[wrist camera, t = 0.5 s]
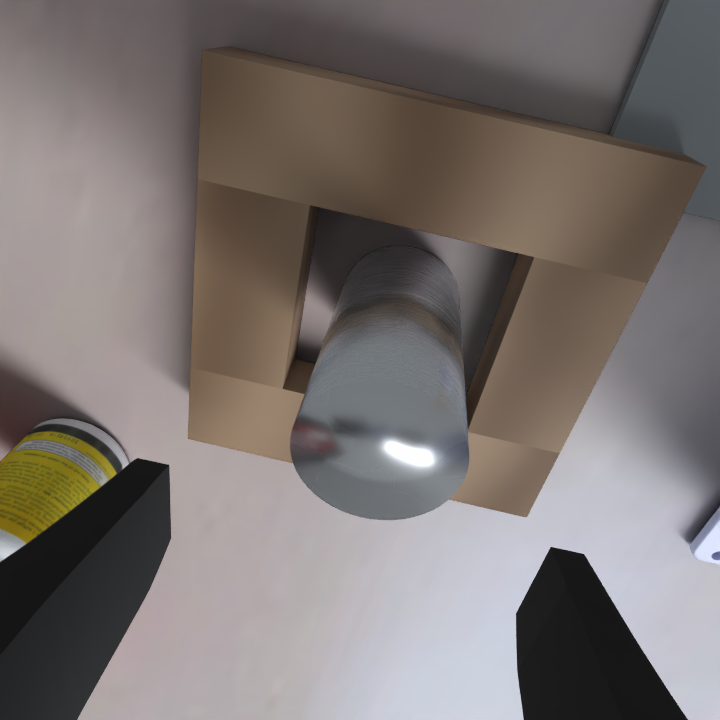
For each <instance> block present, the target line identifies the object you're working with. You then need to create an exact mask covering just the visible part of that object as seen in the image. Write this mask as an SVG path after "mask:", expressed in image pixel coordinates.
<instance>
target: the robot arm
mask: <svg viewBox="0 0 720 720" xmlns="http://www.w3.org/2000/svg"><path fill="white" fill-rule="evenodd" d="M170 540H171V519H170V478H169V465H167V464H162V463H157V462H153V461H148V460H143V459H139V458H137V459H136V460H134V461H132V462H131V463H130V464H128V465H127V466H126V467H125V468H123V469H122V470H121V471H120V472H118V473H117V474H116V475H115V476H113V477H112V478H111V479H110V480H109V481H107V482H106V483H105V484H104V485H102V486H101V487H100V488H99V489H97V490H96V491H95V492H94V493H92V494H91V495H90V496H89V497H87V498H86V499H85V500H83V501H82V502H81V503H80V504H78V505H77V506H76V507H75V508H73V509H72V510H71V511H69V512H68V513H67V514H65V515H64V516H63V517H61V518H60V519H59V520H57V521H56V522H55V523H53V524H52V525H51V526H49V527H48V528H47V529H45V530H44V531H43V532H41V533H40V534H39V535H37V536H36V537H35V538H33V539H32V540H31V541H29V542H28V543H27V544H25V545H24V546H22V547H21V548H20V549H18V550H17V551H15V552H14V553H12V554H11V555H9V556H8V557H7V558H5V559H4V560H2V561H1V562H0V720H77V719H78V717H79V715H80V713H81V711H82V709H83V708H84V706H85V704H86V702H87V700H88V699H89V697H90V695H91V693H92V692H93V690H94V688H95V686H96V684H97V683H98V681H99V679H100V677H101V676H102V674H103V672H104V670H105V668H106V667H107V665H108V663H109V661H110V660H111V658H112V656H113V654H114V652H115V651H116V649H117V647H118V645H119V644H120V642H121V640H122V638H123V637H124V635H125V633H126V631H127V629H128V628H129V626H130V624H131V622H132V620H133V619H134V617H135V615H136V613H137V611H138V610H139V608H140V606H141V604H142V602H143V601H144V599H145V597H146V595H147V593H148V591H149V589H150V587H151V585H152V583H153V580H154V578H155V576H156V573H157V571H158V569H159V566H160V564H161V562H162V559H163V557H164V554H165V552H166V549H167V547H168V545H169V542H170ZM690 550H691V552H692V554H693V556H694V557H695V558H696V559H699V560H703V561H707V562H711V563H715V564H720V507H719V508H718V509H717V511H716V512H715V513H714V515H713V516H712V517H711V518H710V520H709V521H708V522H707V524H706V525H705V526H704V528H703V529H702V530H701V531H700V533H699V534H698V535H697V537H696V538H695V539H694V540H693V542H692V543H691V545H690ZM516 639H517V670H518V679H519V687H520V694H521V701H522V709H523V716H524V720H688V719H687V718H686V716H685V715H684V714H683V712H682V711H681V709H680V708H679V706H678V705H677V703H676V702H675V700H674V699H673V697H672V696H671V694H670V693H669V691H668V690H667V688H666V687H665V685H664V683H663V682H662V680H661V679H660V677H659V676H658V674H657V673H656V671H655V669H654V668H653V666H652V665H651V663H650V662H649V660H648V659H647V657H646V655H645V654H644V652H643V651H642V649H641V648H640V646H639V644H638V643H637V641H636V639H635V638H634V636H633V635H632V633H631V631H630V630H629V628H628V626H627V625H626V623H625V621H624V620H623V618H622V617H621V615H620V613H619V612H618V610H617V608H616V607H615V605H614V603H613V602H612V600H611V598H610V597H609V595H608V593H607V592H606V590H605V588H604V587H603V585H602V583H601V582H600V580H599V578H598V577H597V575H596V573H595V572H594V570H593V568H592V567H591V565H590V563H589V562H588V560H587V558H586V557H585V555H584V554H581V553H577V552H572V551H567V550H563V549H558V548H553V547H551V548H550V550H549V552H548V554H547V555H546V557H545V559H544V561H543V563H542V565H541V567H540V569H539V571H538V573H537V575H536V577H535V578H534V580H533V582H532V584H531V586H530V588H529V590H528V592H527V594H526V596H525V598H524V600H523V601H522V603H521V605H520V607H519V609H518V611H517V613H516Z"/></svg>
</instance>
